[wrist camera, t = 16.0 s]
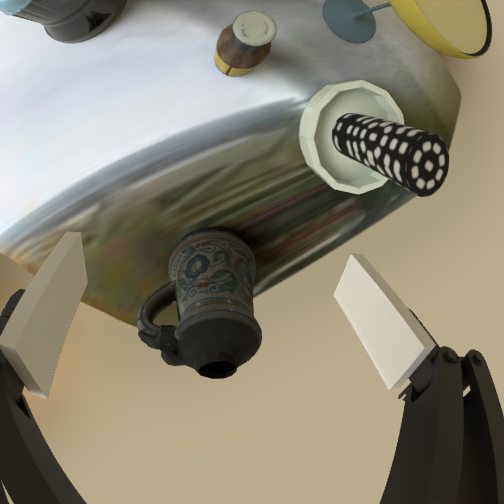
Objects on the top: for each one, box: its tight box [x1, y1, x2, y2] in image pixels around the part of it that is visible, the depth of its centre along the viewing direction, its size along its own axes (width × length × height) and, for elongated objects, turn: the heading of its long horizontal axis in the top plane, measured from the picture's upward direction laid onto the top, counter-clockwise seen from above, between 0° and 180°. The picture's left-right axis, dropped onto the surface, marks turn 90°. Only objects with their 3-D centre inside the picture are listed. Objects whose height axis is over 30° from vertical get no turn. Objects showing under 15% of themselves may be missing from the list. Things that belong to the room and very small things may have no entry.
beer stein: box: [137, 227, 262, 379], centre depth 43 cm, size 16×19×25 cm
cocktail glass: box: [323, 0, 492, 59], centre depth 22 cm, size 18×18×25 cm
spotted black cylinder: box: [332, 113, 449, 197], centre depth 35 cm, size 8×8×20 cm
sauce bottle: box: [214, 11, 277, 76], centre depth 26 cm, size 6×6×20 cm
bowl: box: [299, 80, 404, 194], centre depth 43 cm, size 20×20×4 cm
